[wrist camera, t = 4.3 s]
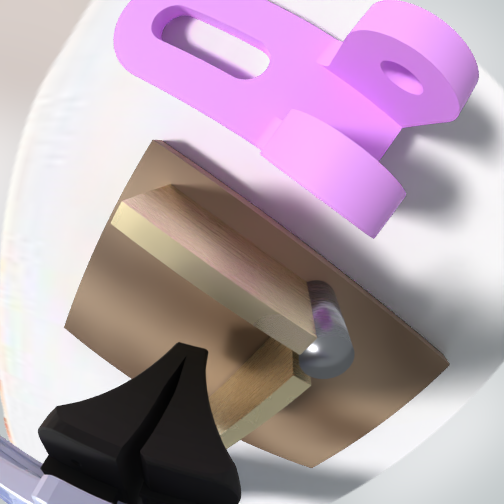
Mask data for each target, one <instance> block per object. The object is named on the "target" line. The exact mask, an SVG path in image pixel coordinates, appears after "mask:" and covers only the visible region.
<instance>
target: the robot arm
mask: <svg viewBox="0 0 504 504" xmlns="http://www.w3.org/2000/svg"><path fill="white" fill-rule="evenodd" d="M208 353H209V352H208V350H207V349H204V348H200V347H196V346H192V345H189V344H185V343H181V342H178V343H176V344H175V345H174V346H173V347H172V348H171V349H170V350H169V351H168V352H167V353H166V354H165V355H163V356H162V357H161V358H160V359H159V360H158V361H156V362H155V363H154V364H153V365H151V366H150V367H149V368H147V369H146V370H145V371H143V372H142V373H140V374H139V375H137V376H136V377H134V378H133V379H131V380H129V381H128V382H126V383H124V384H122V385H121V386H119V387H117V388H115V389H112V390H110V391H108V392H106V393H104V394H101V395H99V396H96V397H93V398H90V399H87V400H84V401H80V402H76V403H71V404H66V405H61V406H56V408H55V409H54V410H53V411H52V412H51V413H50V414H49V415H48V416H47V418H46V419H45V420H44V422H43V423H42V425H41V426H40V427H39V429H38V434H39V437H40V440H41V441H42V443H43V445H44V447H45V449H46V451H47V453H48V454H49V455H48V457H47V458H46V460H45V461H44V463H43V464H42V463H41V462H39V461H37V460H36V459H34V458H33V457H31V456H29V455H28V454H26V453H25V452H23V451H22V450H20V449H19V448H17V447H16V446H14V445H13V444H12V443H10V442H9V441H7V440H6V439H5V438H3V437H2V436H0V498H1V499H3V500H4V501H5V502H6V503H8V504H238V503H239V501H240V499H241V486H240V481H239V477H238V473H237V468H236V466H235V464H234V462H233V461H232V459H231V457H230V455H229V454H228V452H227V450H226V448H225V446H224V444H223V442H222V439H221V437H220V434H219V432H218V429H217V427H216V424H215V421H214V418H213V414H212V411H211V407H210V402H209V397H208V391H207V383H206V365H207V359H208Z"/></svg>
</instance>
